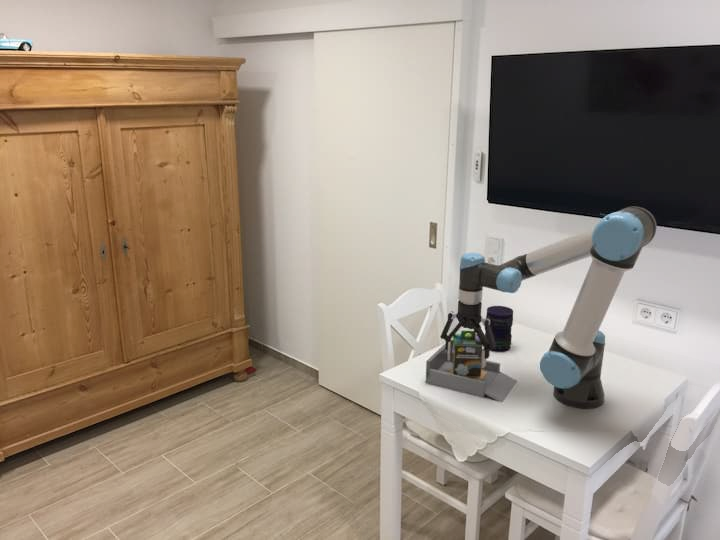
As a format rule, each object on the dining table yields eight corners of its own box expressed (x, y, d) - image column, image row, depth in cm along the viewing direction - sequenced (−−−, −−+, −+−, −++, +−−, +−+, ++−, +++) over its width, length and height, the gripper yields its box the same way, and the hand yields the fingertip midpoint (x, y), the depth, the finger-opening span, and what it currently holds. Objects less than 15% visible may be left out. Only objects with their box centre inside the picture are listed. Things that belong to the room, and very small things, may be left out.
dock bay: (516, 382, 199) (518, 359, 196) (502, 403, 185) (504, 379, 183) (444, 365, 211) (445, 343, 209) (425, 384, 197) (426, 361, 195)
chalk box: (478, 365, 202) (481, 324, 197) (481, 377, 193) (484, 335, 189) (451, 363, 203) (453, 323, 198) (452, 376, 194) (454, 334, 190)
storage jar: (481, 349, 222) (484, 312, 218) (486, 340, 231) (489, 304, 227) (508, 354, 219) (511, 316, 214) (512, 344, 227) (515, 307, 223)
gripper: (509, 303, 188) (504, 366, 194) (440, 291, 199) (438, 351, 206) (502, 310, 182) (497, 375, 188) (431, 298, 193) (429, 359, 199)
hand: (466, 362), depth 197 cm, fingers closed on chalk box, 11 cm apart
